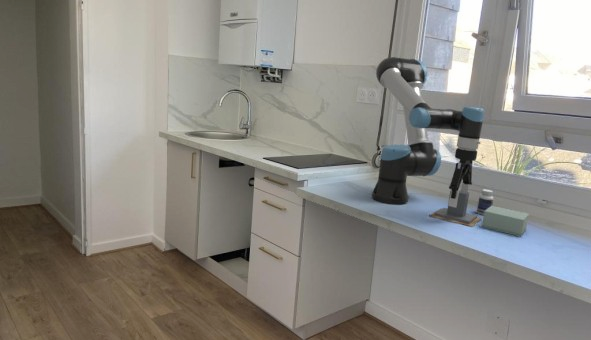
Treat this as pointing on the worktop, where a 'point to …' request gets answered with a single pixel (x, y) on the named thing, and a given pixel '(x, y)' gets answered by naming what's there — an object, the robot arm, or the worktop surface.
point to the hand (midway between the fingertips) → (457, 203)
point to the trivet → (456, 221)
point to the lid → (458, 210)
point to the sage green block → (505, 220)
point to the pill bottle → (484, 201)
